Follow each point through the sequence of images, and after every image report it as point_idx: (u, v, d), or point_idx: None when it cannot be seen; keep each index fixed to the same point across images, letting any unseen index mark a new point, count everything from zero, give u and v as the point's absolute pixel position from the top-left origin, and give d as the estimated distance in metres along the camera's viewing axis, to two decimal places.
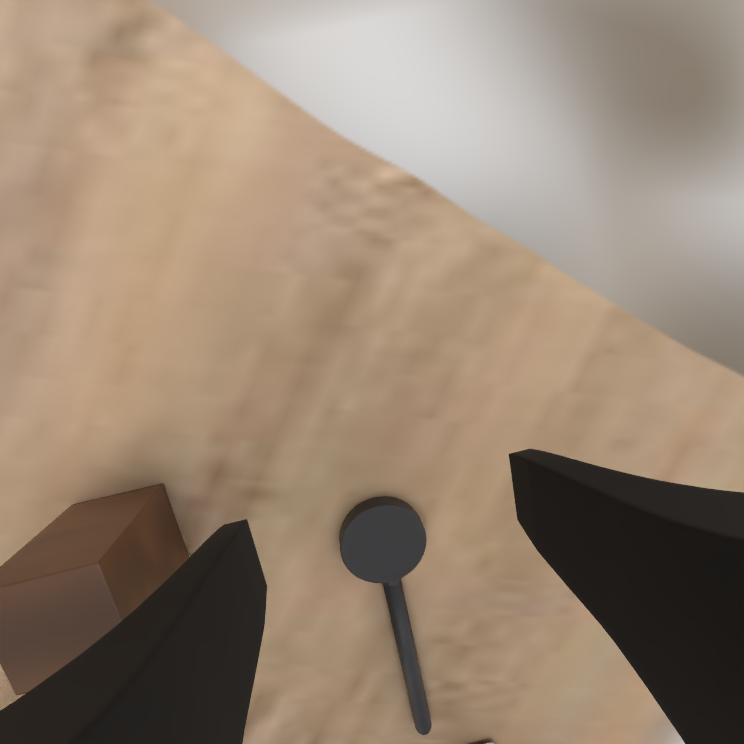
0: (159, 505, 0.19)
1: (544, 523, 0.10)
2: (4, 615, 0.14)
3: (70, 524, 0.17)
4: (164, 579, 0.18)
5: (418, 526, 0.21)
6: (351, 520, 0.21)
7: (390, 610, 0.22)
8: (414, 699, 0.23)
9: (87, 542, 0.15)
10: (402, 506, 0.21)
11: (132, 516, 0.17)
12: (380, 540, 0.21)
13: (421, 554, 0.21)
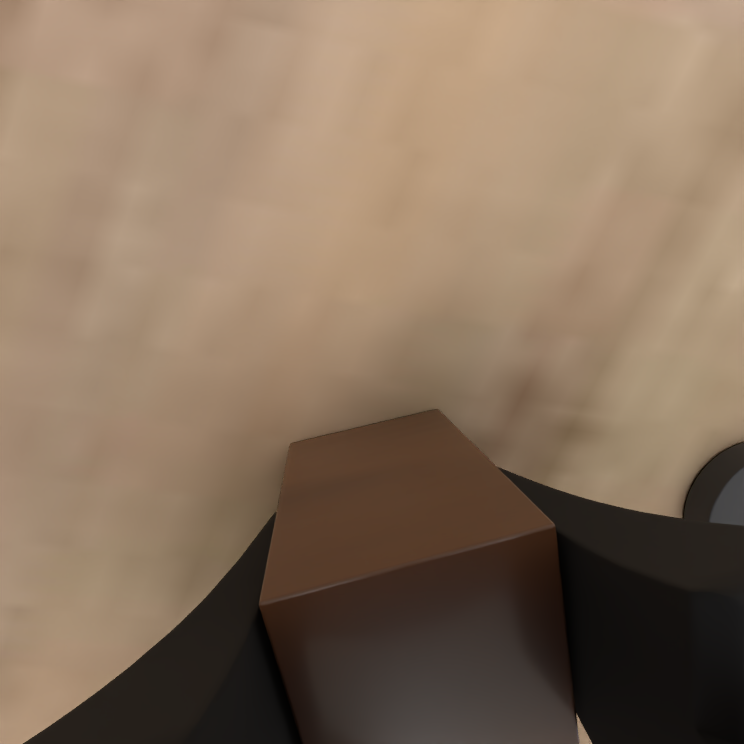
0: None
1: None
2: (336, 649, 0.06)
3: (335, 465, 0.09)
4: None
5: None
6: (732, 474, 0.12)
7: None
8: None
9: (440, 489, 0.07)
10: None
11: (467, 447, 0.09)
12: None
13: None
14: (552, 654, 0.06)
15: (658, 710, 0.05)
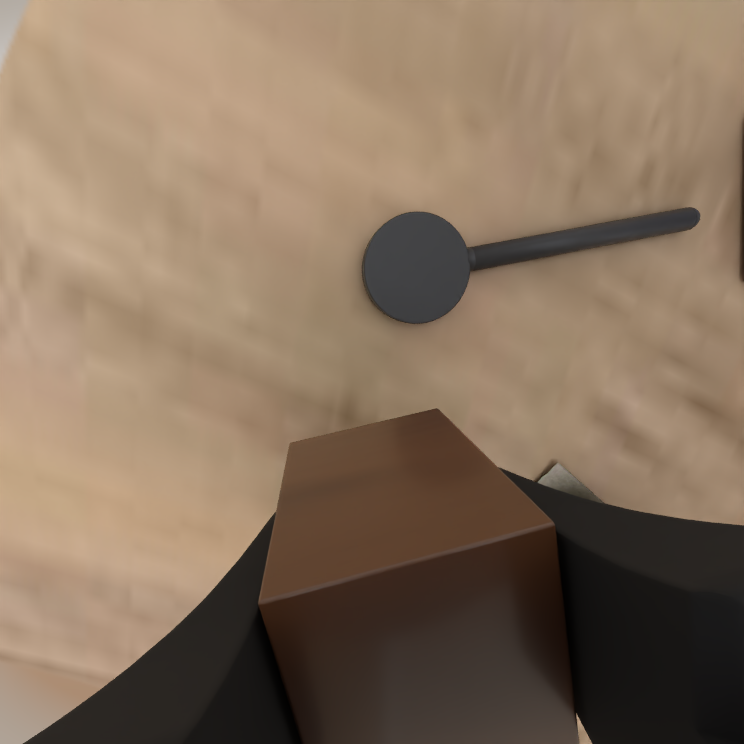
0: None
1: None
2: (335, 648, 0.06)
3: (335, 465, 0.09)
4: None
5: (396, 221, 0.16)
6: (380, 309, 0.17)
7: (511, 261, 0.17)
8: (643, 232, 0.18)
9: (439, 488, 0.07)
10: (369, 243, 0.17)
11: (467, 446, 0.09)
12: (411, 273, 0.17)
13: (437, 218, 0.17)
14: (552, 653, 0.06)
15: (658, 710, 0.05)
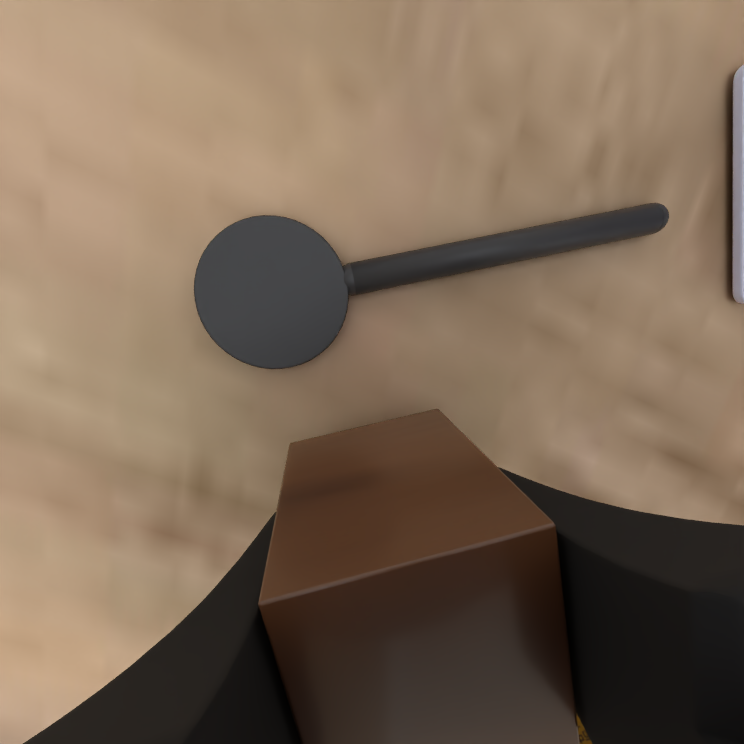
0: None
1: None
2: (336, 648, 0.06)
3: (335, 465, 0.09)
4: None
5: (236, 230, 0.12)
6: (224, 350, 0.12)
7: (407, 281, 0.13)
8: (590, 238, 0.13)
9: (439, 488, 0.07)
10: (199, 261, 0.12)
11: (467, 447, 0.09)
12: (264, 301, 0.12)
13: (294, 224, 0.12)
14: (552, 654, 0.06)
15: (658, 710, 0.05)
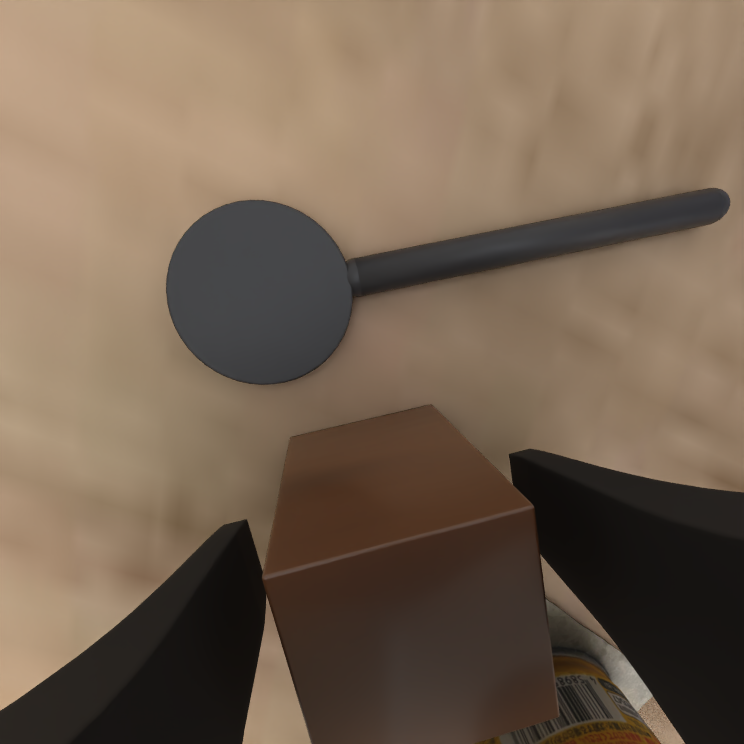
0: None
1: (544, 523, 0.10)
2: (333, 620, 0.06)
3: (333, 457, 0.10)
4: None
5: (216, 217, 0.10)
6: (204, 363, 0.10)
7: (422, 280, 0.11)
8: (638, 229, 0.11)
9: (430, 476, 0.08)
10: (173, 255, 0.10)
11: (458, 439, 0.09)
12: (251, 304, 0.10)
13: (288, 211, 0.10)
14: (533, 627, 0.07)
15: None
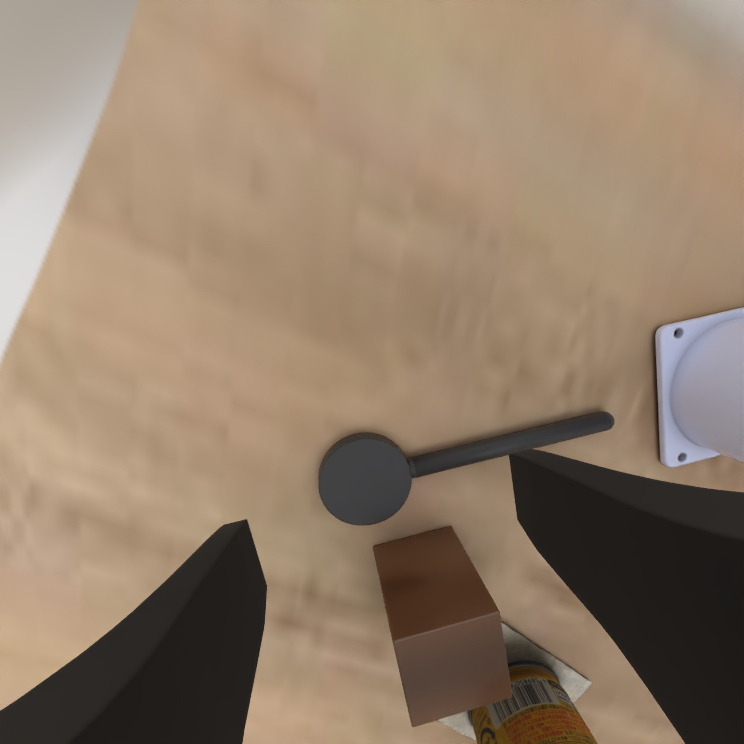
0: None
1: (544, 523, 0.09)
2: (419, 657, 0.16)
3: (403, 568, 0.19)
4: None
5: (345, 448, 0.19)
6: None
7: (447, 469, 0.20)
8: (563, 439, 0.20)
9: (455, 589, 0.17)
10: (322, 465, 0.19)
11: (467, 561, 0.19)
12: (360, 487, 0.20)
13: (380, 443, 0.19)
14: (499, 659, 0.16)
15: None
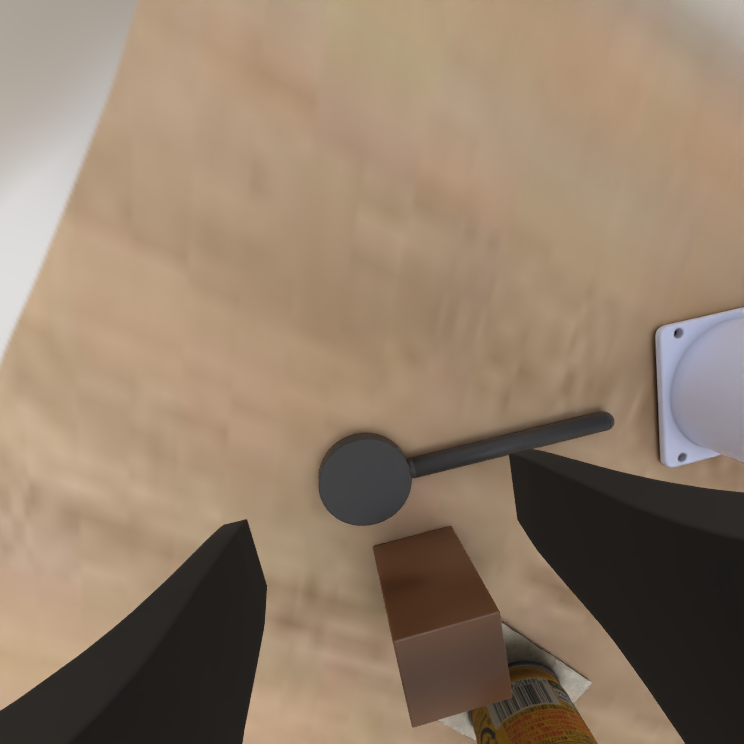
0: None
1: (544, 523, 0.10)
2: (419, 657, 0.16)
3: (403, 568, 0.19)
4: None
5: (345, 448, 0.19)
6: None
7: (447, 469, 0.20)
8: (563, 439, 0.20)
9: (455, 589, 0.17)
10: (322, 465, 0.19)
11: (467, 561, 0.19)
12: (360, 487, 0.20)
13: (380, 443, 0.19)
14: (500, 659, 0.16)
15: None
